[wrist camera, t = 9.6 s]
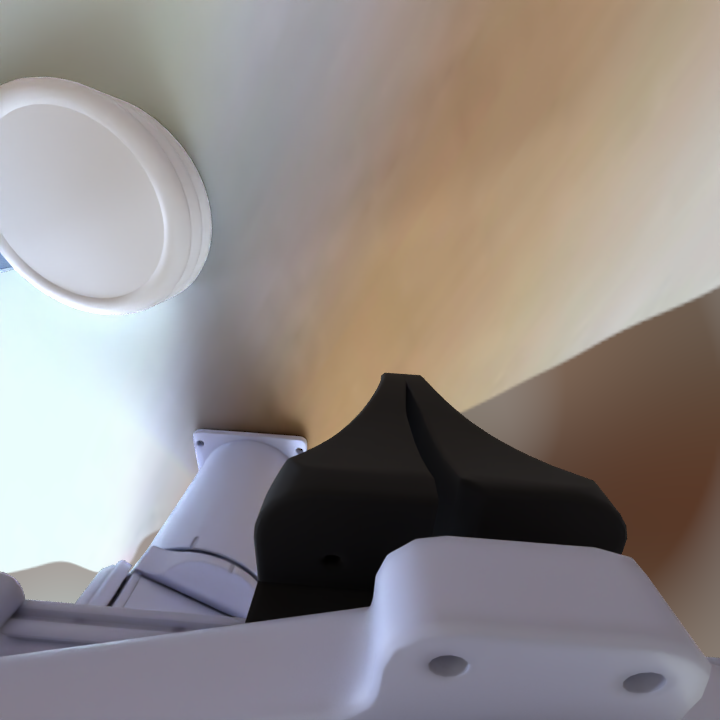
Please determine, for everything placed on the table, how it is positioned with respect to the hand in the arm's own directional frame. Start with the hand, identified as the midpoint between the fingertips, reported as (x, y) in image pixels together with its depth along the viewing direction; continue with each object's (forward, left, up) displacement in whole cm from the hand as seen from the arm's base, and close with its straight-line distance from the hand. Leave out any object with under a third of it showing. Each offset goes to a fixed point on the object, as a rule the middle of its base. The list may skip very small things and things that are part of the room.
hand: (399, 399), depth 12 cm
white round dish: (+5, +15, -10) cm, 18 cm away
